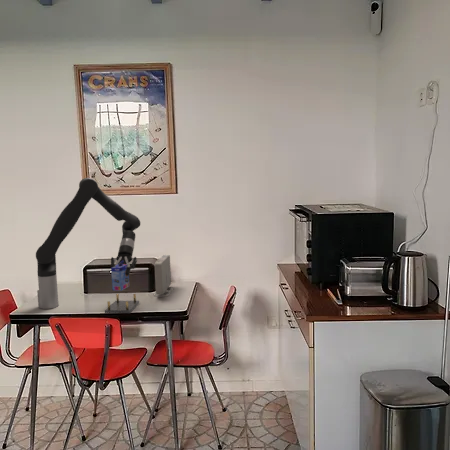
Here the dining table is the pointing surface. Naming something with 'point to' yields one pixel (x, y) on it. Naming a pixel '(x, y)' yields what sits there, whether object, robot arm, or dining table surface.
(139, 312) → the dining table surface
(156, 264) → the network device
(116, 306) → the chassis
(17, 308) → the dining table surface
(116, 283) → the ink cartridge box
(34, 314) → the dining table surface
